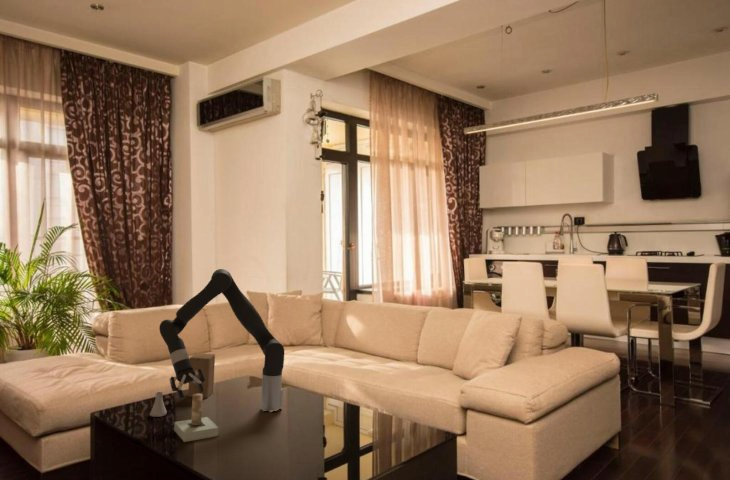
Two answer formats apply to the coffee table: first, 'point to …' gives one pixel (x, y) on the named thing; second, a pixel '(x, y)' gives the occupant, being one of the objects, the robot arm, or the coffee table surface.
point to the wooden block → (207, 368)
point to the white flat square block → (196, 430)
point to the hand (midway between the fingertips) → (192, 395)
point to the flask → (158, 406)
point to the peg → (196, 410)
